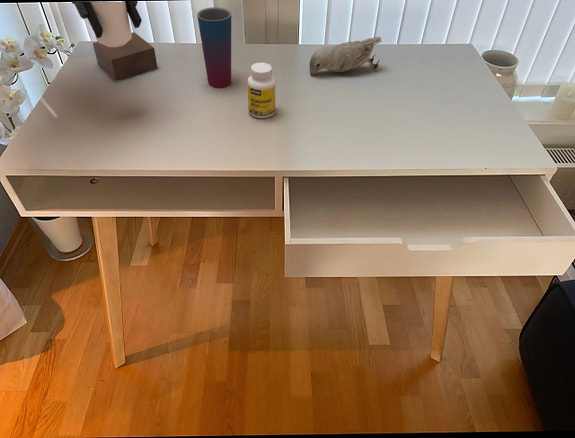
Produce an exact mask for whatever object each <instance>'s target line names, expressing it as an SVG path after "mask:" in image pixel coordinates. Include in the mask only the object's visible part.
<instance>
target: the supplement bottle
mask: <svg viewBox="0 0 575 438" xmlns="http://www.w3.org/2000/svg"><path fill="white" fill-rule="evenodd" d="M247 105H248V106H247V109H248V113H249V114H250V115H251V116H252V117H254V118H256V119H267V118H271V117H272V116H273V115H274V114H275V112H276V79H275V77H274V76H273V66H272V65H271V64H269V63H266V62H255V63H253V64H252V65H251V66H250V75H249V77H248V79H247Z"/></svg>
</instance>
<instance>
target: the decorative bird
mask: <svg viewBox="0 0 575 438" xmlns="http://www.w3.org/2000/svg"><path fill="white" fill-rule="evenodd" d="M380 43H382V36H374V37H369V38H366V39H362V40H355V41H347V42H342V43H339V44H336V45H333V46H325V47H321V48H319V49H317V50H315V51H314V52H313V54H312V55H311V57H310V60H309V75H310V76H313V75H314V74H316V73H318V72H319V71H321V70H328V71H329V72H334V73H335V72H337V73H345V72H347V71H350V70H354V69H356V68H358V67H361V66H363V65H364V64H366V63H368V66H369V67H370V66H372V69H373V70H375V72H377V69H378V67H379V62H380V61H381V59H378V60H377V62H376V63H373V62H374V60H375V56H376V55H377V54H376V53H375V54H374V55H373V56H372V57H371V55H372V53H373V50H374V48H375V47H374V46H376V45H377V44H380Z"/></svg>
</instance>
